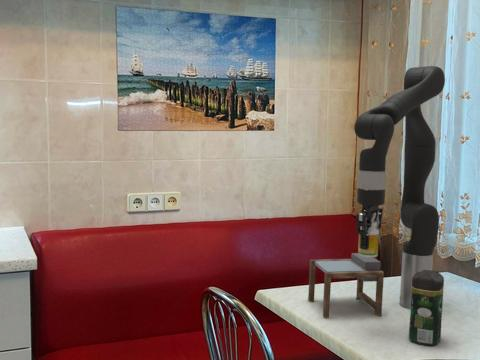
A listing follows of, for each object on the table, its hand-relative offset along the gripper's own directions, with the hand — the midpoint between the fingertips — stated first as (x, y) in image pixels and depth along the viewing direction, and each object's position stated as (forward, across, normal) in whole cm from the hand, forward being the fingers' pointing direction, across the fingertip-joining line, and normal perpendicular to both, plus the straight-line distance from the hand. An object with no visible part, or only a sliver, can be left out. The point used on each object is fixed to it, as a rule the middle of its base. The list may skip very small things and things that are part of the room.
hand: (368, 246), depth 150 cm
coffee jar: (+24, -2, +16) cm, 29 cm away
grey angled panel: (+13, -12, -11) cm, 21 cm away
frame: (+23, -11, -11) cm, 28 cm away
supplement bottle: (+3, 0, 0) cm, 3 cm away
